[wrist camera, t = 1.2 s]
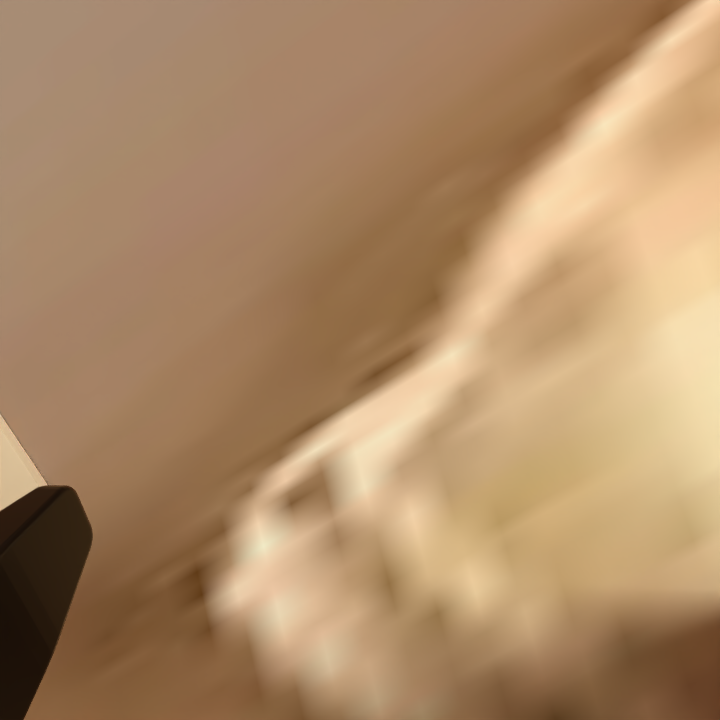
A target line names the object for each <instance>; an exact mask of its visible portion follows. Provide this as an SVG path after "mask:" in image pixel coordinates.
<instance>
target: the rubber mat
mask: <svg viewBox="0 0 720 720" xmlns="http://www.w3.org/2000/svg"><path fill="white" fill-rule="evenodd" d="M45 485H47V483H46V482H45V480H44V479H43V477H42V476H41V474H40V473H39V471H38V470H37V468H36V467H35V465H34V464H33V462H32V461H31V460H30V458H29V457H28V455H27V454H26V452H25V451H24V449H23V448H22V446H21V445H20V443H19V442H18V440H17V439H16V437H15V436H14V434H13V433H12V431H11V430H10V428H9V427H8V425H7V424H6V422H5V421H4V419H3V418H2V416H1V415H0V511H1V510H2V509H4V508H6V507H7V506H9V505H10V504H12V503H13V502H15V501H17V500H18V499H20V498H21V497H23V496H24V495H26V494H28V493H29V492H31V491H32V490H34V489H36V488H37V487H40V486H45Z"/></svg>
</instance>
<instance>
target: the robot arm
mask: <svg viewBox="0 0 720 720" xmlns="http://www.w3.org/2000/svg"><path fill="white" fill-rule="evenodd" d="M92 538H93V533H92V527H91V525H90V522H89V520H88V518H87V515H86V513H85V511H84V508H83V506H82V504H81V501H80V499H79V497H78V495H77V493H76V491H75V490H74V489H73V488H72V487H69V486H57V485H45V486H40V487H37V488H36V489H34V490H32V491H31V492H29V493H28V494H26V495H24V496H23V497H21V498H20V499H18V500H17V501H15V502H13V503H12V504H10V505H9V506H7V507H6V508H4V509H2V510H1V511H0V720H24V717H25V715H26V713H27V711H28V709H29V707H30V704H31V702H32V700H33V698H34V696H35V693H36V691H37V689H38V687H39V685H40V683H41V680H42V678H43V676H44V674H45V672H46V669H47V667H48V665H49V662H50V660H51V658H52V655H53V653H54V650H55V648H56V645H57V643H58V640H59V637H60V635H61V632H62V629H63V626H64V623H65V620H66V617H67V614H68V612H69V609H70V606H71V603H72V600H73V597H74V594H75V591H76V589H77V586H78V583H79V580H80V577H81V574H82V571H83V568H84V565H85V563H86V560H87V557H88V554H89V551H90V548H91V545H92Z"/></svg>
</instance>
